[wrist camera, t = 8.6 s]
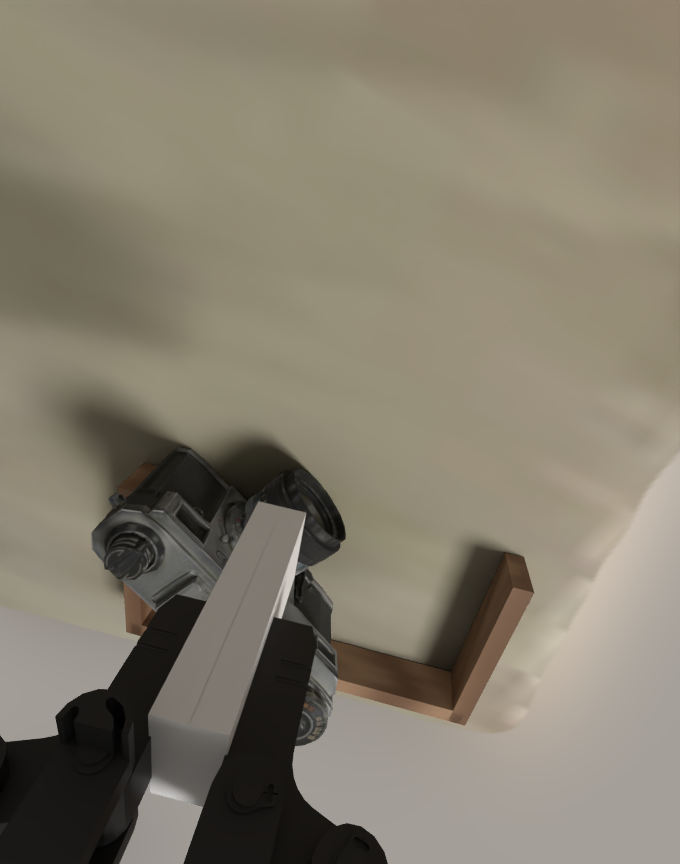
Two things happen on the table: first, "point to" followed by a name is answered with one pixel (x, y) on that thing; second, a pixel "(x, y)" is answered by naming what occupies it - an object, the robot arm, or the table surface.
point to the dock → (403, 678)
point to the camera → (223, 551)
